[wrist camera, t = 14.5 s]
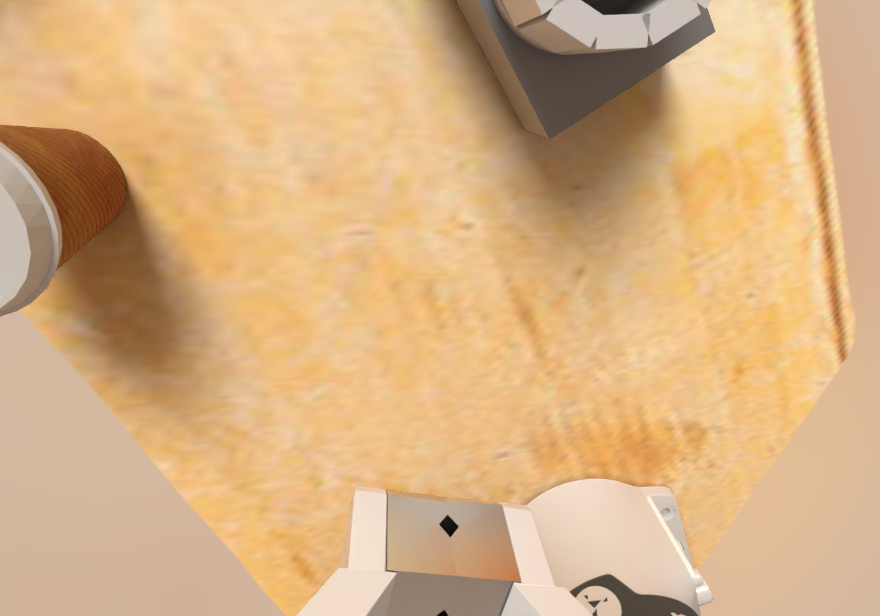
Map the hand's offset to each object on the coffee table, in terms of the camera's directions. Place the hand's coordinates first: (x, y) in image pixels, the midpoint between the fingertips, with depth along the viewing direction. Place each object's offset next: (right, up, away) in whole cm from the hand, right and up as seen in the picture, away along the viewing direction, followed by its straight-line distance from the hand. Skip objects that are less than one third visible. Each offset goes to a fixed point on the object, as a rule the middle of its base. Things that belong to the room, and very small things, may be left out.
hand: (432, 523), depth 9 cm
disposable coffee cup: (-23, +12, +25) cm, 36 cm away
